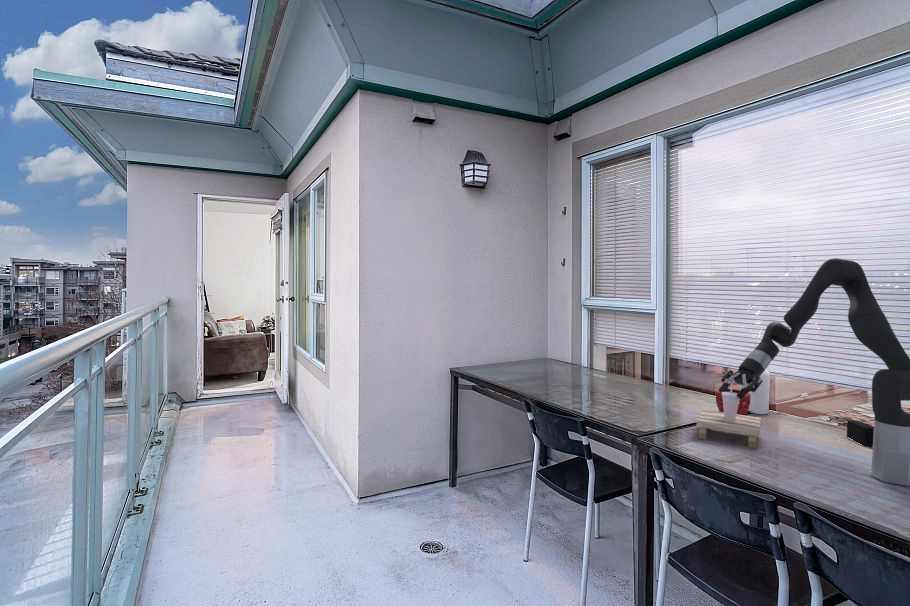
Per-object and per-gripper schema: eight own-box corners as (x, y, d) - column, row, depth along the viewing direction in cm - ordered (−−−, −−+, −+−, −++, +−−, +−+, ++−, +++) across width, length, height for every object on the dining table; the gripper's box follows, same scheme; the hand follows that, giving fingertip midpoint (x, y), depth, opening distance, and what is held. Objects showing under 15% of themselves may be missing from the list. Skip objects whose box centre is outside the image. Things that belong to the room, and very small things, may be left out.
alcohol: (750, 408, 230) (753, 346, 229) (771, 413, 223) (774, 348, 222) (743, 411, 224) (746, 347, 223) (764, 415, 217) (767, 349, 216)
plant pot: (715, 412, 221) (716, 386, 220) (749, 417, 214) (750, 390, 214) (714, 419, 210) (715, 391, 209) (749, 424, 203) (750, 395, 202)
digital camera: (881, 447, 176) (882, 428, 176) (864, 446, 177) (865, 427, 176) (862, 439, 186) (863, 421, 186) (846, 438, 187) (847, 420, 187)
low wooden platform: (758, 449, 170) (759, 429, 170) (695, 438, 181) (696, 420, 181) (760, 435, 187) (761, 417, 186) (702, 426, 198) (703, 409, 197)
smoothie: (720, 419, 182) (722, 383, 181) (720, 415, 188) (721, 379, 187) (740, 422, 179) (741, 385, 178) (739, 417, 185) (741, 381, 184)
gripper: (734, 354, 192) (709, 384, 189) (766, 360, 178) (739, 392, 175) (745, 367, 193) (720, 397, 191) (777, 374, 179) (750, 406, 177)
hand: (729, 394), depth 183 cm, fingers open, 8 cm apart
